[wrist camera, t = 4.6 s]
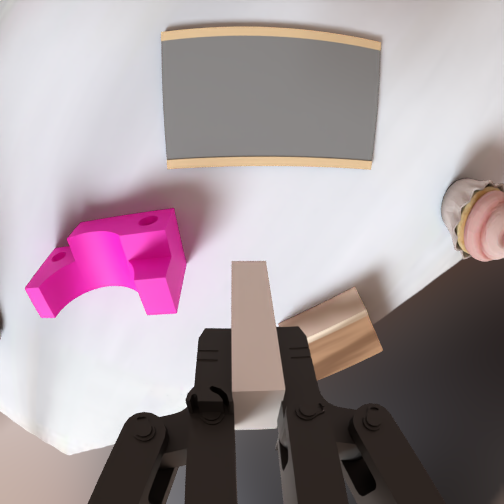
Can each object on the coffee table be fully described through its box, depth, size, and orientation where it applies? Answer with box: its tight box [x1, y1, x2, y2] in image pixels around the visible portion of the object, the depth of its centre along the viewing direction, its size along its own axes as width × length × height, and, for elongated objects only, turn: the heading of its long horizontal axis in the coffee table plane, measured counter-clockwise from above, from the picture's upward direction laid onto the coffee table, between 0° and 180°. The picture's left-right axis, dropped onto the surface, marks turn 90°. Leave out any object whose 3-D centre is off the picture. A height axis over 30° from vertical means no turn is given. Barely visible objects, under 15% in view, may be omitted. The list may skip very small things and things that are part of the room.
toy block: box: [25, 208, 186, 318], centre depth 26 cm, size 15×6×8 cm, turn 95°
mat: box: [161, 27, 381, 170], centre depth 22 cm, size 18×12×1 cm, turn 90°
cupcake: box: [441, 178, 504, 261], centre depth 24 cm, size 9×9×10 cm
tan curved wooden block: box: [279, 287, 383, 380], centre depth 35 cm, size 4×10×9 cm
